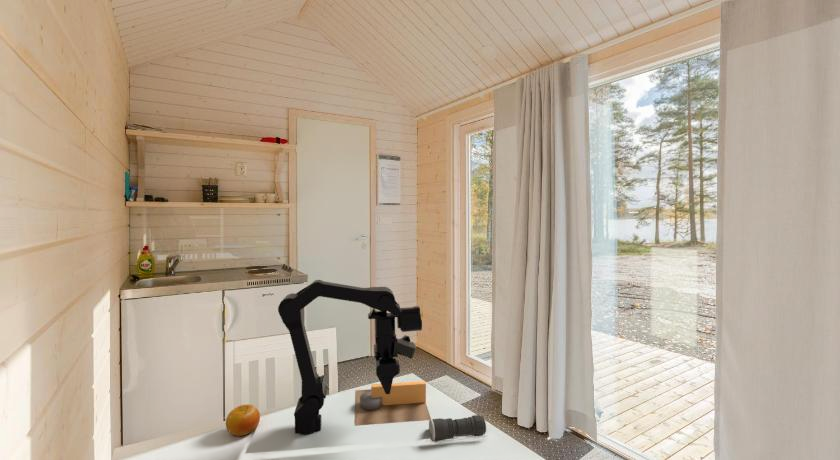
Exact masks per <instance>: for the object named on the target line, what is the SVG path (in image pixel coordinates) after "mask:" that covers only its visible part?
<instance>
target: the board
mask: <svg viewBox="0 0 840 460" xmlns="http://www.w3.org/2000/svg"><path fill="white" fill-rule="evenodd" d="M370 391H371V388H370V389H357V390H355V399H354V400H355V402H354V403H355V405H354V426H367V425H381V424H382V425H383V424H393V423H395V424H397V423H405V422H406V423H407V422H421V421H429V420H430V419H432V418H431V415H430V412H429V411H430V410H429V408H428V406H427V402H425V403H411V404H396V405H382V407H381V408H379V409H376V410H364V409H362V408H361V407H360V396H361V395H362V394H363V393H365V392H370Z"/></svg>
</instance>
